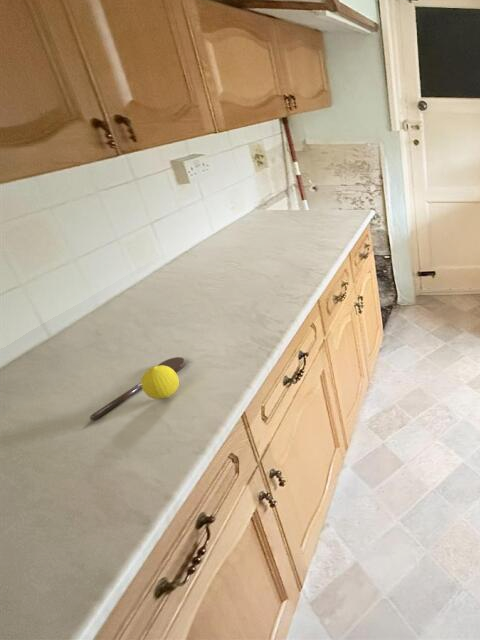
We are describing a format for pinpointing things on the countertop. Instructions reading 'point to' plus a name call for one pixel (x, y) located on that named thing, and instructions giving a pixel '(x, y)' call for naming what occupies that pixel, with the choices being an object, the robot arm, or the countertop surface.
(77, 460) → the countertop surface
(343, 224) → the countertop surface
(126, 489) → the countertop surface
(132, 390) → the spoon
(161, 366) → the lemon
